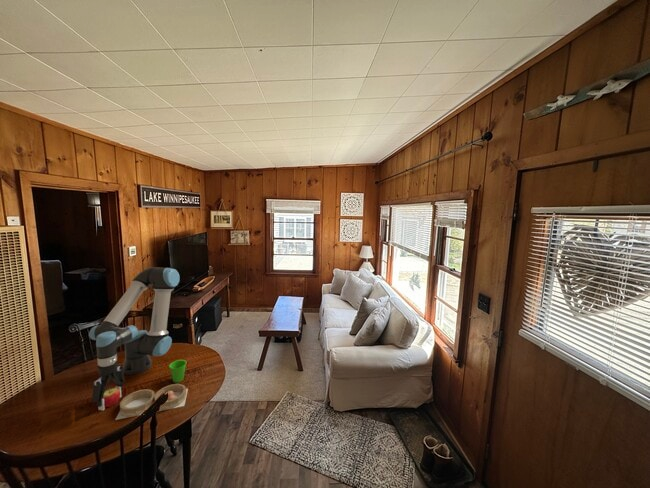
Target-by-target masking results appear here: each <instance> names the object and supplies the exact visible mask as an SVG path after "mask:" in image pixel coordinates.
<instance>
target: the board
mask: <svg viewBox="0 0 650 488" xmlns="http://www.w3.org/2000/svg"><path fill="white" fill-rule="evenodd" d="M188 391H189V388H186V398H185V400H184V401H183V402H182V403H181V404H180V405H178V406H176V407H174V408H171V409H177V408H182V407H185V405H186V399H187V395H188ZM154 394H155V395H156V393H154ZM181 394H182V393H180V392H173V395H174V396H175V397H176V398H177V397H178V396H180V395H181ZM148 400H150V398H139V399H137V400H134V401H132V402H130V403H129V404H127V405H126V406H125V407H127V408H132V407H137V406H140V405H142V404H144V403H146V402H147V401H148ZM167 401H168V400H167ZM171 409H170V410H171ZM167 410H168V409H166V410H165V411H167ZM161 411H163V410H159V411H158V412H161ZM137 416H141V414H139V415H137ZM137 416H136V417H137ZM132 417H134V416H132ZM132 417H131V418H132ZM127 418H129V417H125V416H122V415H121V412H120V411H119V412H118V414H117V416H116V418H115V419H114V420H115V421H117V420H123V419H127Z"/></svg>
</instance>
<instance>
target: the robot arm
mask: <svg viewBox="0 0 650 488" xmlns="http://www.w3.org/2000/svg"><path fill="white" fill-rule="evenodd" d="M180 281H181V280H180V274H179V272H178V270H177V269H175V268H171V267H157V266H151V267H148V268H145V269H144V270H142V271H140V272H139V273H138V274H137V275H136V276H135V277H134V278H133V279H132V280H131V282H130V286H129V287H128V288H127V290H126V291H125V293H124V294H123V295H122V296H121V298H120V299H119V300H118V302H117V303H116V304H115V306H114V307H113V308H112V309H111V311H110V312H109V313H108V314H107V316H106V317H105V319H104V320H103V321H102V322H101V324H98V325H95V326H93V327H91V329H90V330H89V333H88V337H89V338H90V339H91V340H92V341H96V342H95V346H96V357H97V371H98V374H99V377H98V379H97V380H94V381H93V382H92V385H93V389H92V397H91V402H93V403H96V407H98V411H104V410H106V407H105V404H104V399H103V395H104V392H105V390H107V387H108V386H109V382H110V381H112V382H113V383H114V384H115V386H114V388H118V389H119V390H120V398H122V390H123V389H122V388H123V386H124V385H125V383H126V378H125V375H126V376H131V375H138V374H141V373H143V372H145V371H147V370H148V369H150V368H151V367H152V363H153V362H152V358H151V357H150V356H153V357H162V356H163V355H165V354H167V352H168V351H169V350H170V348H171V346H172V344H173V343H172V342H173V339H172V337H171V336H169V331H168V330H167V328H168V317H169V310H170V302H171V295H172V292H173V291H174V290H175V287H176V286H178V285H179V283H180ZM151 286H152V290H153V291H154V297H153V299H154V300H153V306H152V314H151V321H150V322H151V323H150V327H149V328H150V329H149V331H147V330H145V329H141V330H139V329H138V328H137V327H136V326H135V325H131V324H130V325H127V326H125V327H119V325H120V324H121V323H122V321H123V320H124V319H125V317H126V316H127V315H128V313H129V312H130V310H131V309H132V307H133V306H134V304H135V303H136V302H137V301H138V299H140V297H141V295H142V294H143V293H144V291H146V290H148V288H149V287H151ZM122 345H124V357H125V358H124V363H123V365H121V366H120V365H118V363H119V362H118V348H119V347H120V346H122ZM107 385H108V386H107ZM99 397H100V398H99ZM120 398H119V399H120Z"/></svg>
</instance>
